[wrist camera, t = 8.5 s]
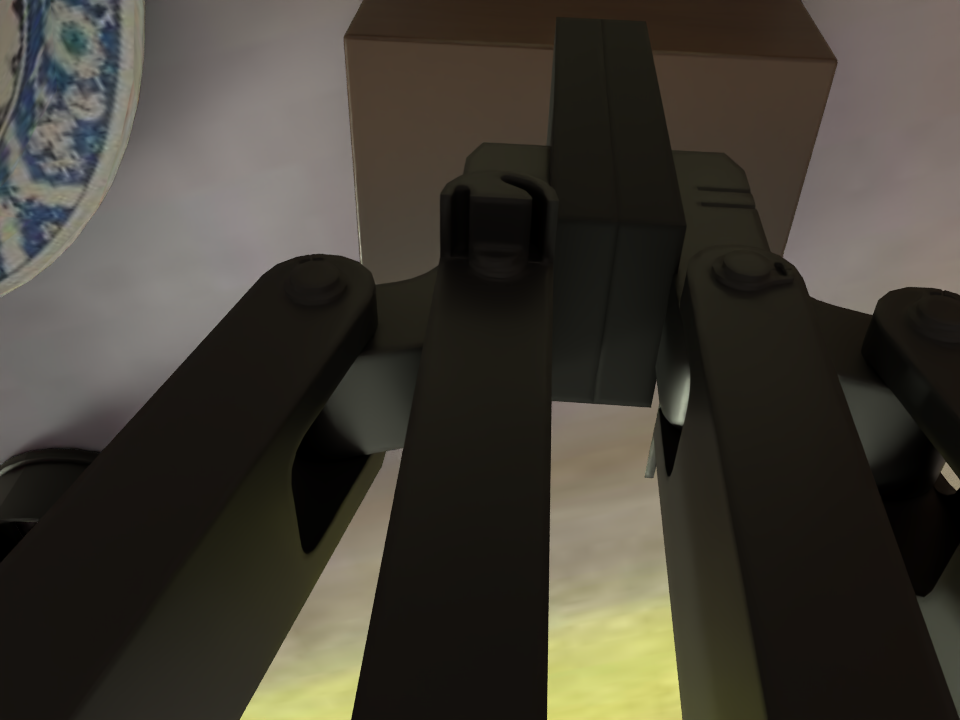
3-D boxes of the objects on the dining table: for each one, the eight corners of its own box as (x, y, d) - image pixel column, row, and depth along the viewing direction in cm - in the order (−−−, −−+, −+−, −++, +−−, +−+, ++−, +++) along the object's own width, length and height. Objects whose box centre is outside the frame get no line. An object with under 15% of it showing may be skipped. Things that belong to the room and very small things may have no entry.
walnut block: (381, -38, 22) (341, 34, 18) (791, -18, 22) (840, 59, 18) (393, 240, 27) (365, 342, 23) (725, 259, 27) (752, 367, 23)
